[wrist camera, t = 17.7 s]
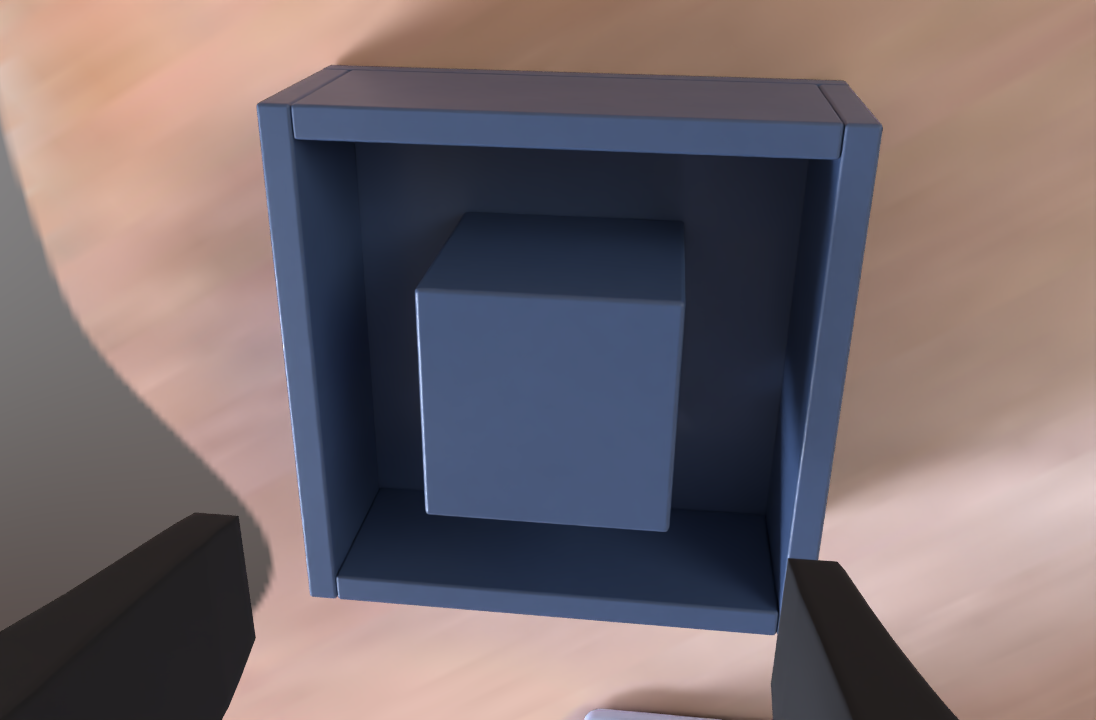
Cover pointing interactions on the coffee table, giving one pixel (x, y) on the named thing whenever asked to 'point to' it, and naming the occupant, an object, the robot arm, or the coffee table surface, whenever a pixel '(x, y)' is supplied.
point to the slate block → (552, 369)
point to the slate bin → (582, 191)
